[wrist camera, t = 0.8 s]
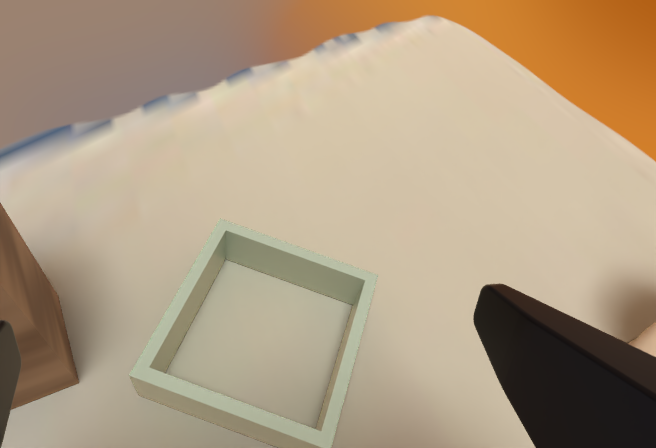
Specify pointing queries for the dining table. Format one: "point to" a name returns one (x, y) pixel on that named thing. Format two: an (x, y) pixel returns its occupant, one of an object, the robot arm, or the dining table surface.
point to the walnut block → (33, 320)
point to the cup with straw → (646, 340)
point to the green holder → (284, 263)
